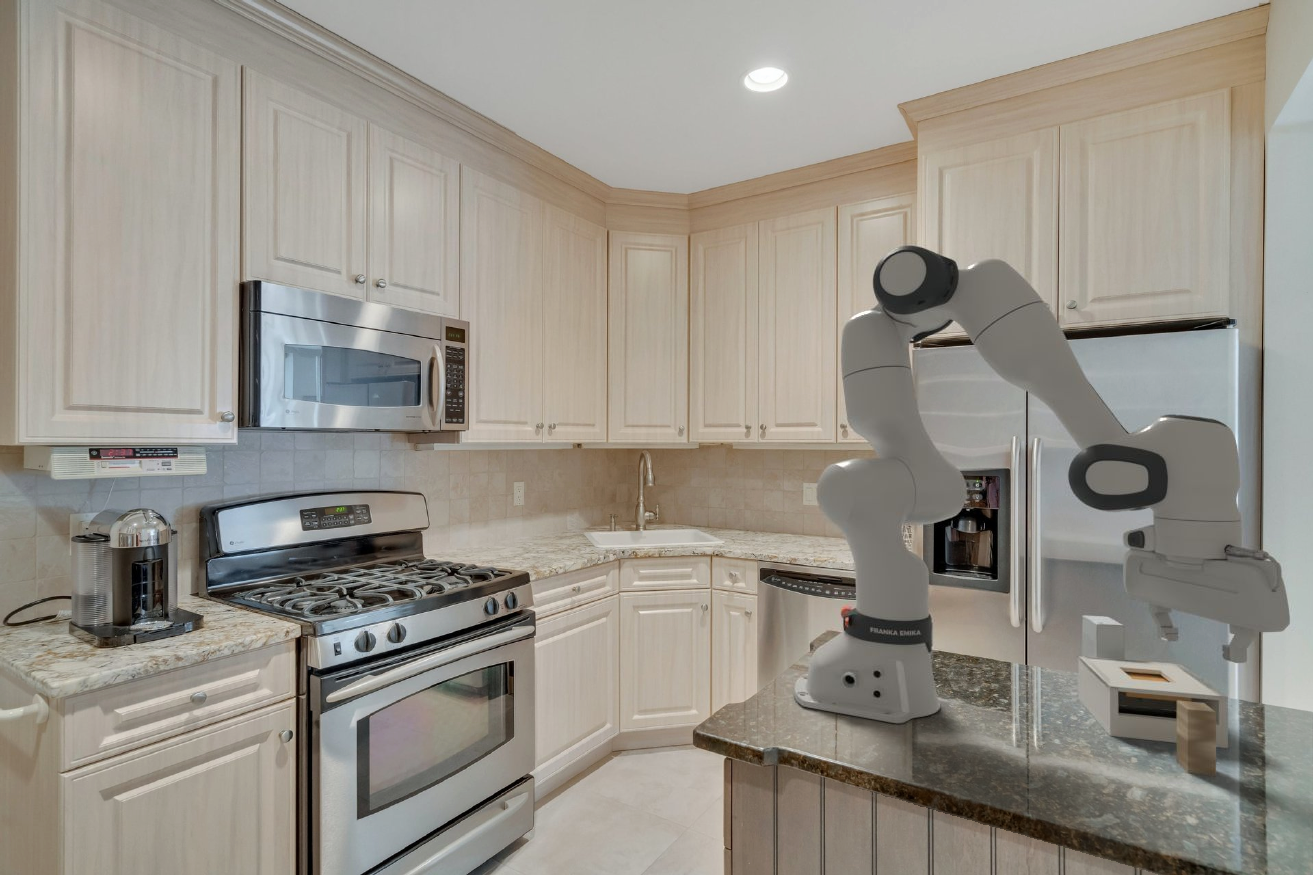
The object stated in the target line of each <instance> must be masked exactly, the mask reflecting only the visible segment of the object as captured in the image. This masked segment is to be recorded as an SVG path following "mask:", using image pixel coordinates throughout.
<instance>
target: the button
mask: <svg viewBox="0 0 1313 875" xmlns="http://www.w3.org/2000/svg"><path fill="white" fill-rule="evenodd" d="M1125 673H1126V674H1127V675H1129V676H1130V677H1131V678H1132V679H1137V680H1149V681H1161V682H1170V681H1168V680H1167V679H1166V678H1164V677H1163V676H1162V675H1159V674H1147V673H1135V672H1125ZM1122 693H1123V694H1124V695H1125V696H1128V697H1137V698H1138V699H1139V700H1140V701H1141V702H1147V703H1158V699H1160V700H1171V701H1188V702H1191V698H1188V697H1177V696H1166V695H1154V694H1143V693H1132V692H1122Z"/></svg>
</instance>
